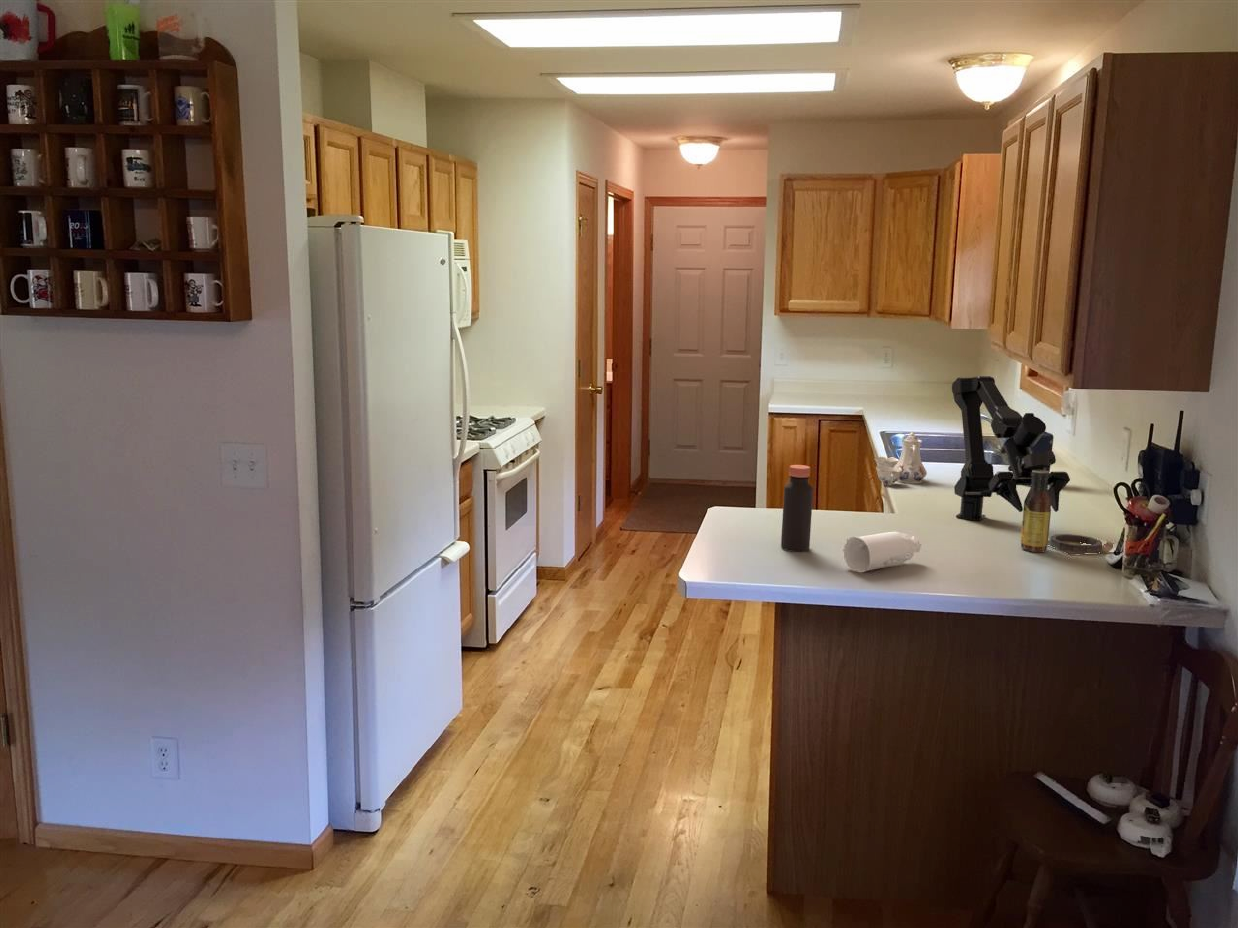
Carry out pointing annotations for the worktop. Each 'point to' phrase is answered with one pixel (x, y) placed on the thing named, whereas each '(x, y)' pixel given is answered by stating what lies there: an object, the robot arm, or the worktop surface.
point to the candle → (1043, 445)
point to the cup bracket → (1078, 544)
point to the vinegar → (797, 510)
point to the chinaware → (903, 464)
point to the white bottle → (879, 550)
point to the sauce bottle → (1036, 513)
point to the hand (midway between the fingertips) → (1039, 511)
